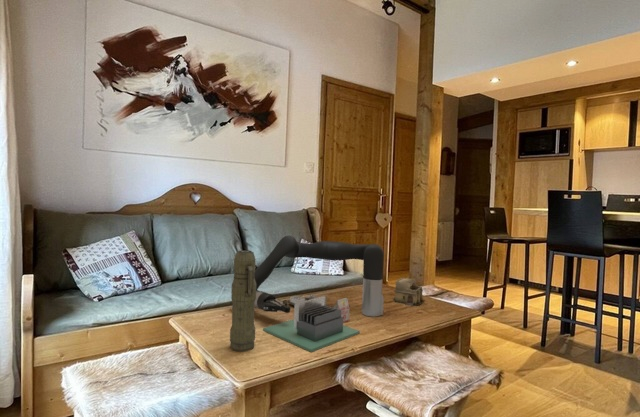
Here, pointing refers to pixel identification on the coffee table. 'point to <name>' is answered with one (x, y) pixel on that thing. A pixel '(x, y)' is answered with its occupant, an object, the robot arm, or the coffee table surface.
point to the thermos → (243, 302)
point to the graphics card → (305, 299)
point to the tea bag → (343, 308)
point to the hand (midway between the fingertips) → (288, 310)
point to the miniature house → (408, 292)
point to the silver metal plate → (312, 305)
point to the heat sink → (312, 327)
